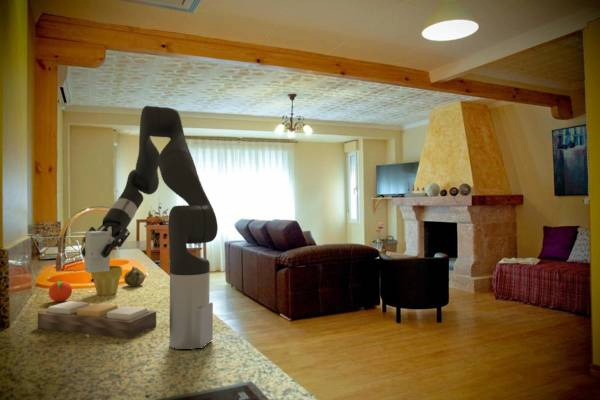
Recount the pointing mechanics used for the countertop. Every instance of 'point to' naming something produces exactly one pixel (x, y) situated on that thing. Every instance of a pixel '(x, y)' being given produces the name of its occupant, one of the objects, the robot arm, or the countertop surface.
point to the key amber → (96, 310)
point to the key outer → (67, 307)
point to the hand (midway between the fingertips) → (93, 255)
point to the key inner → (127, 313)
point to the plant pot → (107, 280)
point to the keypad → (96, 324)
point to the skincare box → (96, 251)
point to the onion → (134, 277)
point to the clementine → (60, 291)
